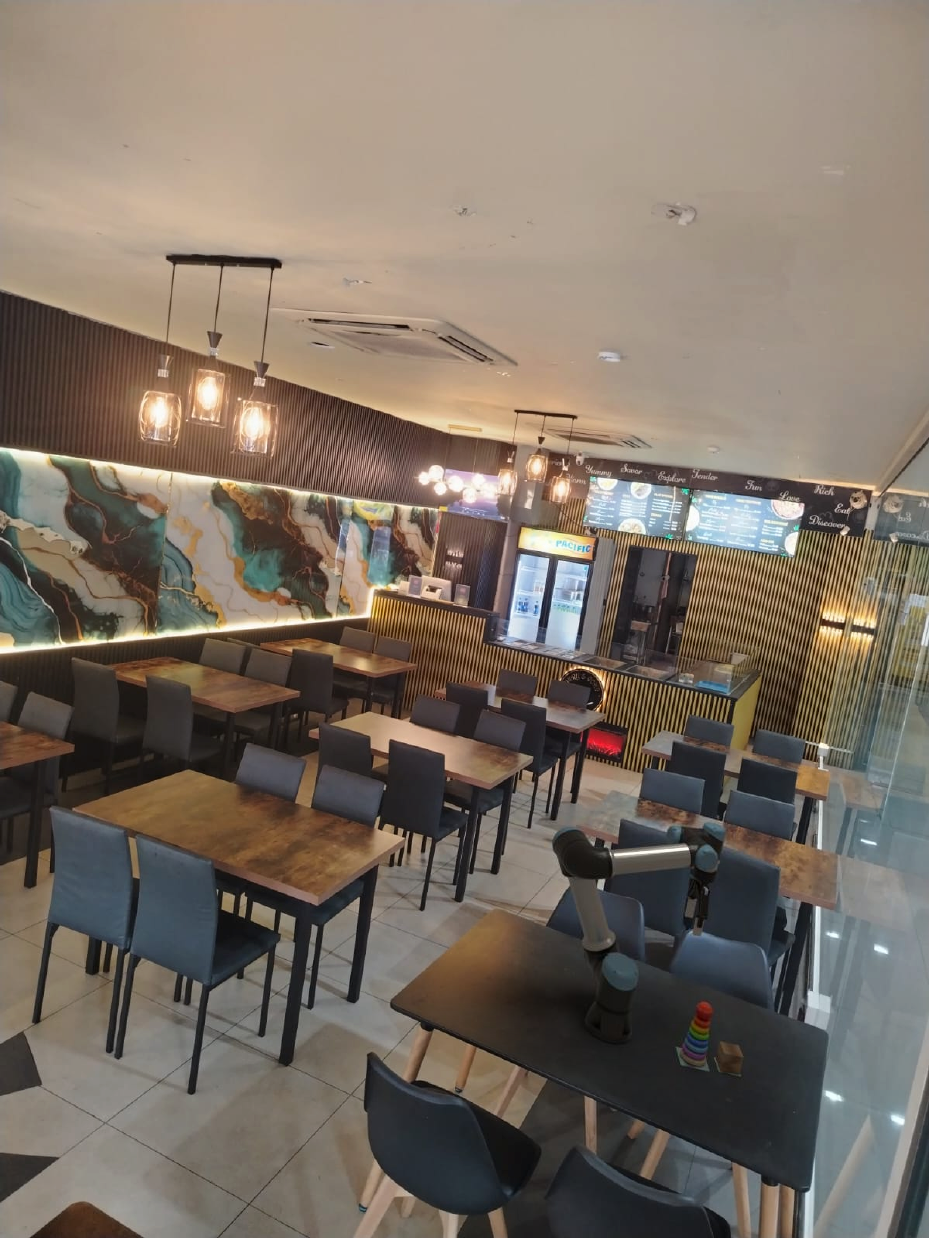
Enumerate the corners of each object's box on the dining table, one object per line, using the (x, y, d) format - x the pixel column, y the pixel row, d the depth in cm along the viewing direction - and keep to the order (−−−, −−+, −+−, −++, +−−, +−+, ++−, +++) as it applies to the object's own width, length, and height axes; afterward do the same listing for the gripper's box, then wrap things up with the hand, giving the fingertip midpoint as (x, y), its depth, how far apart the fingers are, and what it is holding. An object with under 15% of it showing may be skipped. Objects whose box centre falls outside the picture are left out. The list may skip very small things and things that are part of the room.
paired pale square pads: (670, 1073, 245) (671, 1069, 245) (662, 1041, 261) (663, 1037, 261) (749, 1091, 243) (750, 1087, 243) (736, 1057, 259) (736, 1054, 259)
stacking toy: (706, 1070, 248) (719, 1014, 246) (680, 1062, 249) (693, 1007, 247) (704, 1054, 255) (717, 1000, 253) (678, 1047, 257) (691, 993, 255)
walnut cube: (720, 1070, 249) (724, 1052, 248) (715, 1058, 255) (719, 1041, 254) (739, 1075, 248) (743, 1057, 248) (734, 1062, 254) (738, 1045, 254)
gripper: (725, 885, 262) (711, 945, 264) (708, 855, 287) (696, 911, 289) (702, 880, 262) (688, 941, 265) (687, 851, 287) (675, 907, 289)
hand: (692, 925), depth 277 cm, fingers open, 13 cm apart
